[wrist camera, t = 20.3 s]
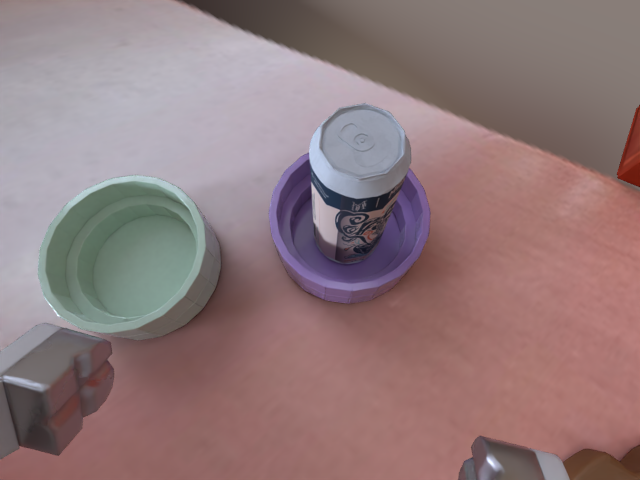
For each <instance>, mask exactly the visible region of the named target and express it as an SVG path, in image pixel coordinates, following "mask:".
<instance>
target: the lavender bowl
mask: <svg viewBox="0 0 640 480" xmlns="http://www.w3.org/2000/svg"><path fill="white" fill-rule="evenodd" d="M269 219H270V226H271V234H272V238H273V241H274V243H275V246H276V249H277V252H278V255H279V257H280V259H281V261H282V263H283V265H284V267H285V269H286V271H287V273H288V274H289V276H290V277H291V278H292V279H293V280H294V281H295V282H297V283H298V284H299V285H300V286H301V287H302V288H303V289H304V290H305V291H307V292H309V293H311V294H313V295H315V296H317V297H319V298H321V299H323V300H327V301H333V302H340V303H349V304H350V303H356V302H362V301H368V300H371V299H374V298H376V297H378V296H380V295H382V294H384V293H385V292H387V291H389V290H391V289H392V288H393V287H394V286H395V285H396V284H397V283H398V282H399V281H400V280H401V279H402V278H403V277H404V276H405V275H406V273H407V272H408V271H409V269H410V268H411V267H412V266H413V264H414V263H415V262H416V260H417V259H418V258H419V256H420V254H421V252H422V250H423V247H424V245H425V243H426V241H427V238H428V236H429V227H430V208H429V204H428V201H427V197H426V194H425V190H424V188H423V186H422V185H421V184H420V182H419V181H418V179H417V178H416V176H415V175H414V173H413V172H412V170H411V169H410V168H409V170H408V173H407V175H406V178H405V180H404V183H403V185H402V187H401V190H400V192H399V195H398V197H397V200H396V202H395V205H394V207H393V210H392V212H391V214H390V217H389V219H388V222H387V224H386V227H385V229H384V232H383V234H382V237H381V239H380V242H379V244H378V246H377V248H376V249H375V250H374V252H373V253H372V254H371V255H370V256H369V257H368V258H366V259H365V260H362V261H361V262H358V263H352V264H342V263H338V262H335V261H333V260H331V259H329V258H327V257H326V256H325V255H324V254H323V253H322V252H321V251H320V250H319V248H318V247H317V244H316V242H315V239H314V224H313V206H312V188H311V170H310V158H309V153H307V154H305V155H303V156H301V157H300V158H299V159H298V160H297V161H296V162H295V163H293V164H292V165H291V166H290V167H289V168H288V169H287V170H286V171H285V172H284V174H283V175H282V177H281V179H280V180H279V182H278V184H277V185H276V187H275V189H274V191H273V195H272V200H271V204H270V209H269Z"/></svg>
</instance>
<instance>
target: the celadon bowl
mask: <svg viewBox="0 0 640 480" xmlns="http://www.w3.org/2000/svg"><path fill="white" fill-rule="evenodd" d="M220 269H221V256H220V245H219V242H218V240H217V237H216V235H215V233H214V231H213V229H212V227H211V225H210V224H209V222H208V221H207V219H206V218H205V217H204V215H203V214H202V212H201V211H200V210H199V208H198V207H197V205H196V204H195V203H194V202H193V201H192V200H191V199H190V198H189V197H188V196H187V195H186V194H185V193H184V192H183V191H182V190H181V189H180V188H179V187H177V186H175V185H173V184H171V183H169V182H166V181H164V180H162V179H160V178H155V177H148V176H141V175H131V176H124V177H117V178H111V179H108V180H106V181H103V182H101V183H99V184H96V185H94V186H92V187H89V188H87V189H85V190H84V191H83V192H81V193H80V194H79V195H78V196H76V197H75V198H74V199H72V200H71V201H70V202H68V203H67V204H66V205H65V206H64V207H63V209H62V210H61V211H60V212H59V214H58V215H57V216H56V218H55V219H54V220H53V221H52V223H51V224H50V226H49V227H48V230H47V232H46V235H45V237H44V240H43V242H42V244H41V247H40V250H39V262H38V277H39V281H40V284H41V288H42V292H43V295H44V297H45V299H46V300H47V302H48V303H49V304H50V306H51V307H52V308H53V309H54V311H55V312H56V313H57V315H58V316H60V318H62V319H64V320H66V321H67V322H69V323H71V324H73V325H74V326H76V327H78V328H80V329H82V330H86V331H91V332H96V333H100V334H105V335H109V336H114V337H119V338H126V339H132V340H144V339H150V338H156V337H162V336H164V335H166V334H168V333H170V332H172V331H174V330H176V329H178V328H180V327H182V326H184V325H186V324H187V323H188V322H189V321H190V320H191V319H192V318H193V317H194V316H196V315H197V314H198V313H199V312H200V311H201V310H202V309H203V308H204V306H205V305H206V303H207V302H208V300H209V298H210V297H211V295H212V293H213V292H214V290H215V288H216V285H217V281H218V277H219V273H220Z"/></svg>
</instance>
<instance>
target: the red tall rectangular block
mask: <svg viewBox="0 0 640 480" xmlns="http://www.w3.org/2000/svg"><path fill="white" fill-rule="evenodd" d="M617 175H618V177H617V178H618V179H621V180H623V181H626V182H628V183H631V184H633V185H636V186H638V187H640V105H639V107H638V108H637V109H636V112H635V115H634V118H633V122H632V125H631V129H630V132H629V135H628V138H627V142H626V145H625V149H624V152H623V155H622V159H621V162H620V166H619V169H618V172H617Z"/></svg>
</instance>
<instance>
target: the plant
mask: <svg viewBox="0 0 640 480" xmlns="http://www.w3.org/2000/svg"><path fill="white" fill-rule="evenodd" d="M563 465H564V467H565V469H566V472H567V474H568V476H569V479H570V480H640V446H637V447H635V448H633V449H632V450H631V451H630V452H629V453H628V454H627V455H626V456H625V457H624V458H623V459H622V461H620V462H619V461H618V460H616V459H615V458H614V457H613V456H611V455H610V454H608V453H605V452H601V451H596V450H592V449H583V450H581V451H580V452H578V453H576V454H575V455H573V456H571V457H570V458H568V459H567V460H566V461H565V462H563Z"/></svg>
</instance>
